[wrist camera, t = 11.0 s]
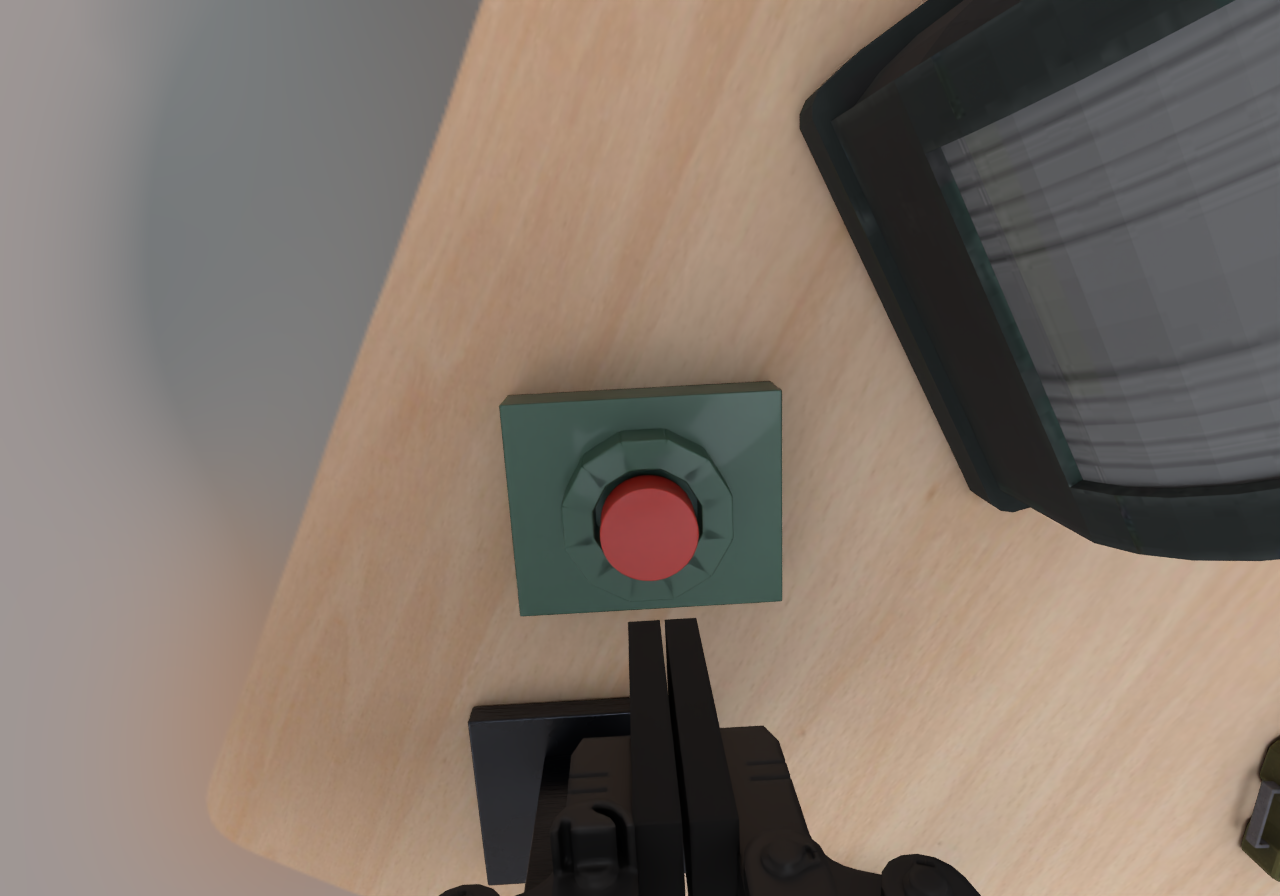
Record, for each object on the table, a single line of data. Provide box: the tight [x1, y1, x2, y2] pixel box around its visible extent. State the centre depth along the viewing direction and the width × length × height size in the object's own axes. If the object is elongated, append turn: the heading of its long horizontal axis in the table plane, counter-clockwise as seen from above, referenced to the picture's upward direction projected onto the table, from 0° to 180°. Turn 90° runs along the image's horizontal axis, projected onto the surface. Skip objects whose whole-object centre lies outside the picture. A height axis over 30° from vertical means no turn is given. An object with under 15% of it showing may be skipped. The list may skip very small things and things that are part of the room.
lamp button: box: [600, 475, 699, 581], centre depth 27 cm, size 4×4×2 cm
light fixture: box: [800, 0, 1280, 561], centre depth 22 cm, size 17×14×20 cm
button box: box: [499, 381, 782, 616], centre depth 30 cm, size 11×9×4 cm
